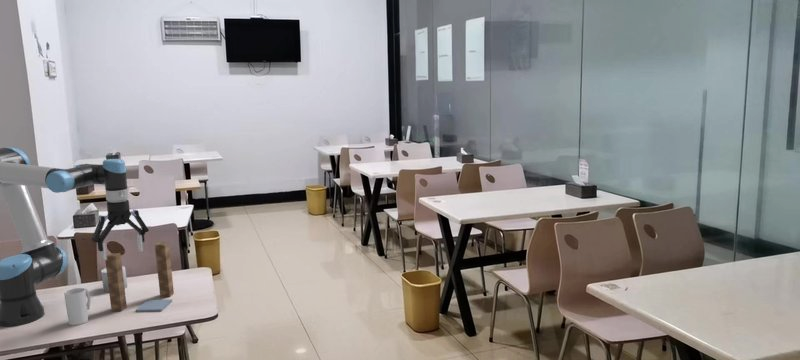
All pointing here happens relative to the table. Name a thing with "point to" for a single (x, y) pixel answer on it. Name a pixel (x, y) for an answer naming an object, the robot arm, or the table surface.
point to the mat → (153, 305)
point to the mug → (77, 305)
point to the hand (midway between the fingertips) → (122, 254)
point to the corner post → (115, 282)
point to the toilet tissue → (105, 279)
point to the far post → (164, 269)
